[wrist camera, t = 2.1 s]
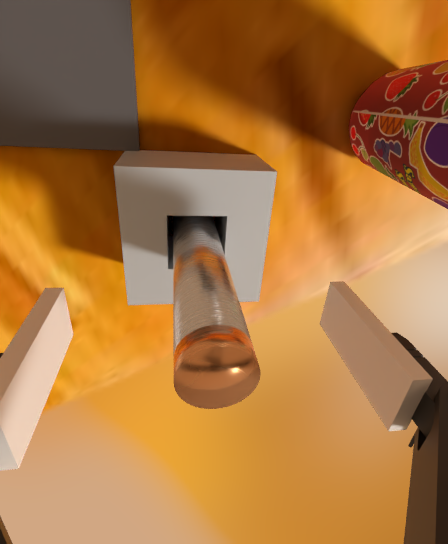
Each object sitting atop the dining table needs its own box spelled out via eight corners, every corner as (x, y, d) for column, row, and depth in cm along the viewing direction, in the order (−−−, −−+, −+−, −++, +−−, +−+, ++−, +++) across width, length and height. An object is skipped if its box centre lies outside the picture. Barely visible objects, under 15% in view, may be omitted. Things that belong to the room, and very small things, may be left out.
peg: (172, 195, 26) (173, 349, 11) (211, 195, 27) (265, 344, 11) (173, 231, 28) (174, 411, 12) (210, 231, 28) (255, 405, 13)
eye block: (126, 149, 24) (113, 166, 19) (256, 154, 25) (277, 171, 20) (135, 266, 29) (127, 305, 24) (244, 265, 30) (258, 301, 25)
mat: (-116, -107, 16) (-125, -113, 16) (125, -73, 18) (124, -77, 18) (-37, 142, 22) (-42, 143, 22) (139, 149, 24) (139, 151, 24)
